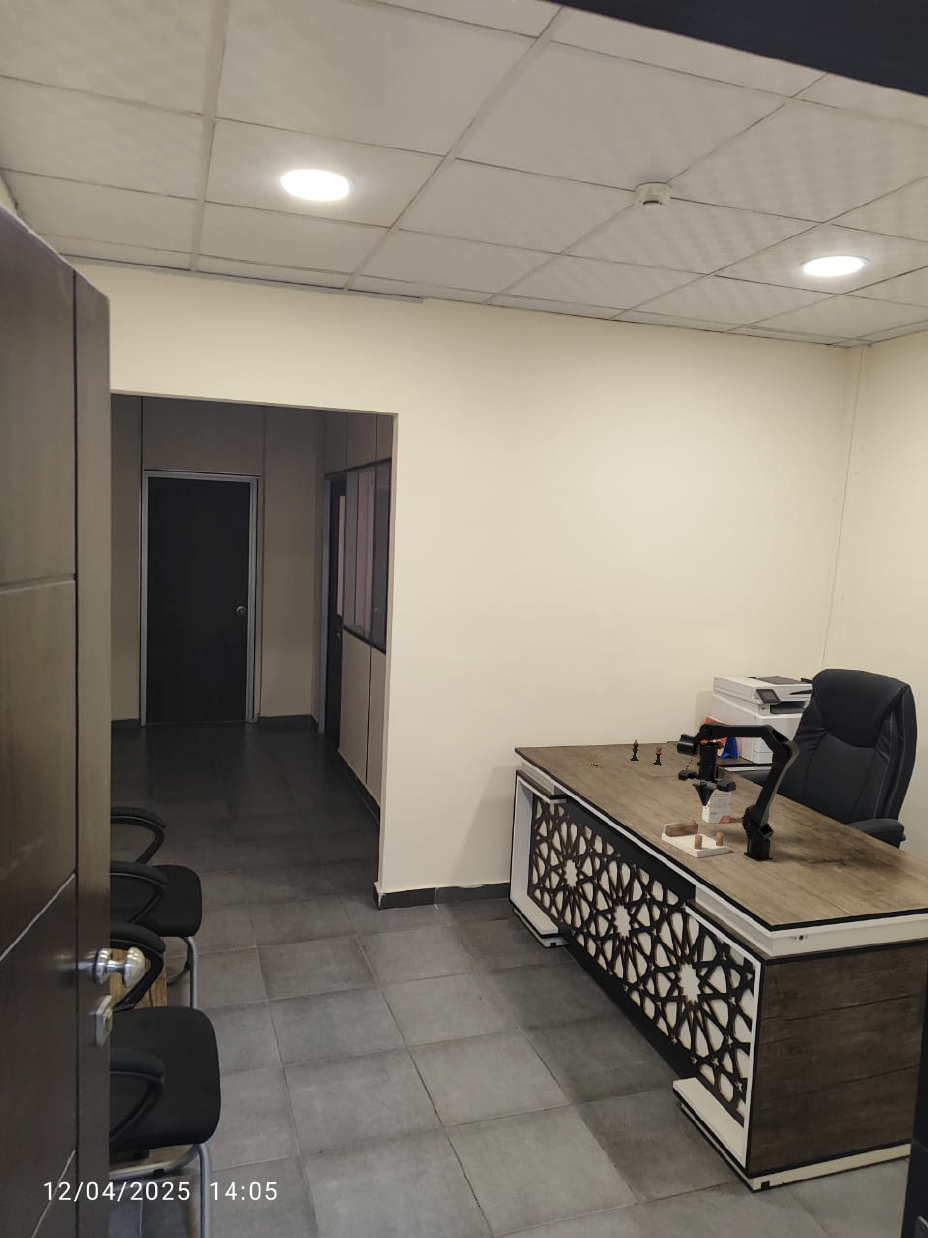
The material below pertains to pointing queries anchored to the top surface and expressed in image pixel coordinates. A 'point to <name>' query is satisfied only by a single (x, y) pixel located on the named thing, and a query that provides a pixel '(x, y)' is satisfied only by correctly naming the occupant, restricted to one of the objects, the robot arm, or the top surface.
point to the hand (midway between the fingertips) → (704, 805)
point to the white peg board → (697, 843)
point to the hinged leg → (681, 829)
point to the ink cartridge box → (718, 808)
